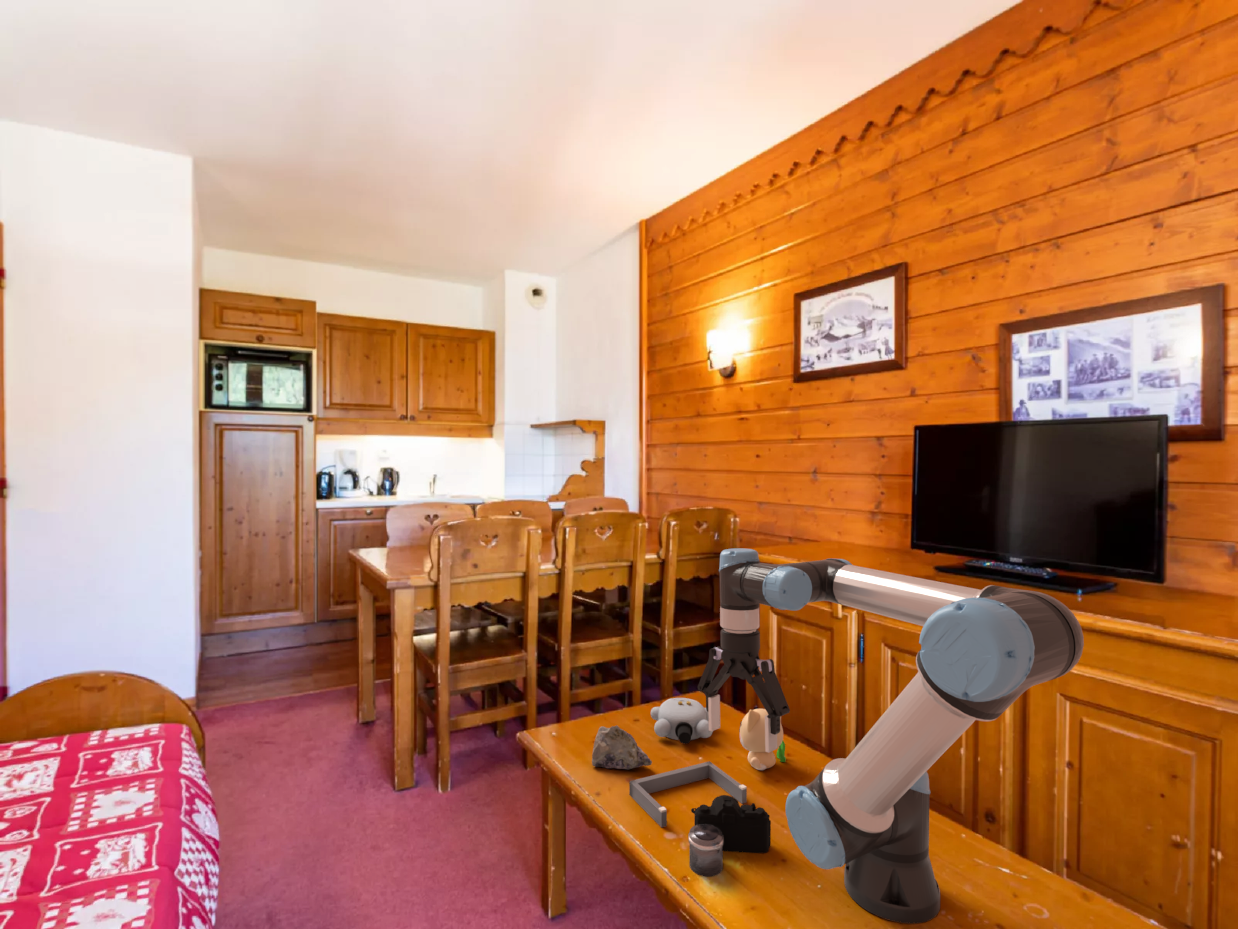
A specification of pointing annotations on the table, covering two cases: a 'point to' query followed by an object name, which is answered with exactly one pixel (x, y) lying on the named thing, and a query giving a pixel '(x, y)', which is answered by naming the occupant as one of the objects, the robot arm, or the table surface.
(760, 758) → the kitten
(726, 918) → the table surface
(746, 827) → the film camera
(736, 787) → the bracket
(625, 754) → the mineral rock
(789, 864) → the table surface
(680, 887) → the table surface
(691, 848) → the lens
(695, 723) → the figurine
